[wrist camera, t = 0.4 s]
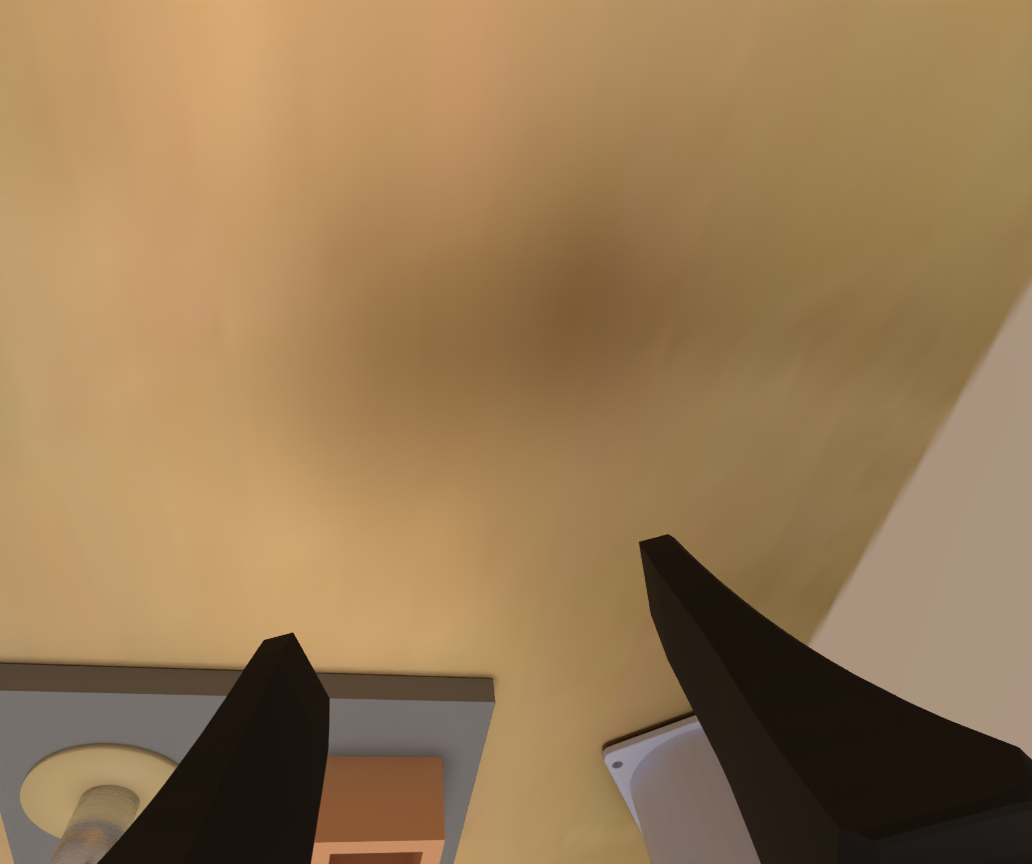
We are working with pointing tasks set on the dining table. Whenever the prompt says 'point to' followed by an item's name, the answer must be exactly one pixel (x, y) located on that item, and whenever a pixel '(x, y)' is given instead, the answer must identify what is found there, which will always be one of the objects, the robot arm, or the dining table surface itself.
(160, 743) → the seat plate
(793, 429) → the dining table surface
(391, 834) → the collar
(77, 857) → the steel post
